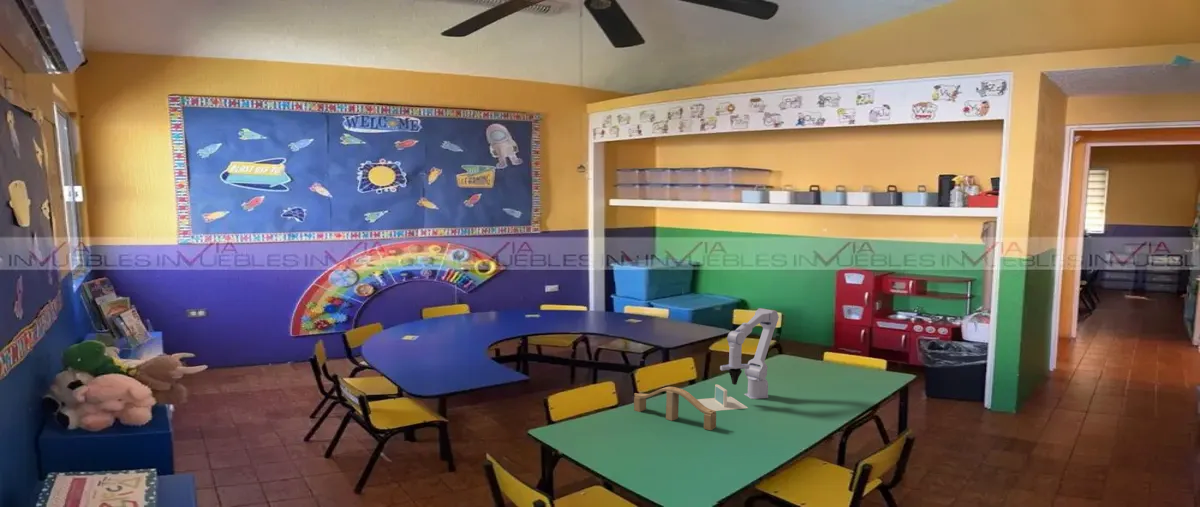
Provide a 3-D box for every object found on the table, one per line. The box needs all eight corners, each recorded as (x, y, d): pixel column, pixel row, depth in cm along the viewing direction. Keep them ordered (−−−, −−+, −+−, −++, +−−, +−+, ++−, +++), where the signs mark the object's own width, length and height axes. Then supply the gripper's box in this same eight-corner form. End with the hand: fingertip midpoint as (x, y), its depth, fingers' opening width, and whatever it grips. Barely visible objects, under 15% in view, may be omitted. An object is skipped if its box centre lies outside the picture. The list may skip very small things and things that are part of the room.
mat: (731, 397, 351) (731, 396, 351) (748, 408, 334) (748, 407, 334) (689, 400, 345) (689, 399, 345) (705, 412, 328) (705, 411, 328)
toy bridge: (716, 428, 308) (717, 396, 307) (709, 431, 304) (710, 399, 302) (637, 407, 335) (638, 377, 333) (630, 410, 331) (630, 380, 329)
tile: (717, 400, 345) (717, 384, 344) (726, 406, 335) (727, 390, 335) (714, 400, 345) (714, 384, 344) (723, 407, 335) (723, 390, 334)
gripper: (745, 353, 345) (744, 380, 347) (717, 355, 342) (716, 382, 343) (751, 357, 339) (751, 384, 340) (724, 358, 335) (723, 386, 336)
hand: (734, 384), depth 341 cm, fingers closed
